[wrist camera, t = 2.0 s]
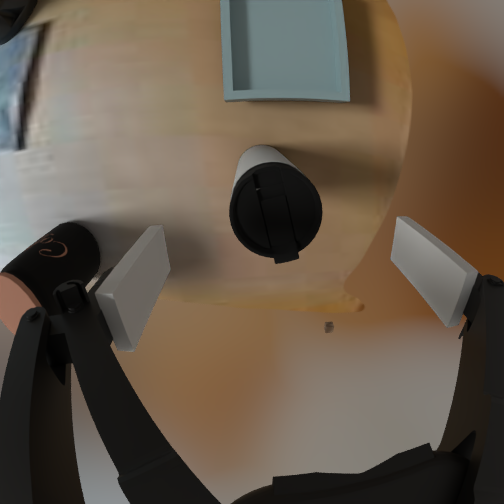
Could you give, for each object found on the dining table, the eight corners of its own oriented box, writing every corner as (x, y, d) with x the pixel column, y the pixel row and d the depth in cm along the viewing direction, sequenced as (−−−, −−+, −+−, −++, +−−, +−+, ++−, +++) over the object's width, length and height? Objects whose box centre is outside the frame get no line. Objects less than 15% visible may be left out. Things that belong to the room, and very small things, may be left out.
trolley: (223, -11, 24) (213, -58, 13) (326, -8, 24) (355, -49, 13) (227, 103, 32) (217, 92, 20) (335, 103, 32) (375, 97, 20)
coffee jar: (97, 218, 38) (27, 278, 22) (108, 279, 43) (58, 352, 26) (48, 220, 38) (-21, 271, 21) (61, 275, 42) (8, 337, 26)
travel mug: (245, 198, 37) (243, 274, 19) (232, 151, 35) (215, 181, 17) (290, 187, 37) (331, 253, 19) (279, 139, 34) (316, 158, 16)
